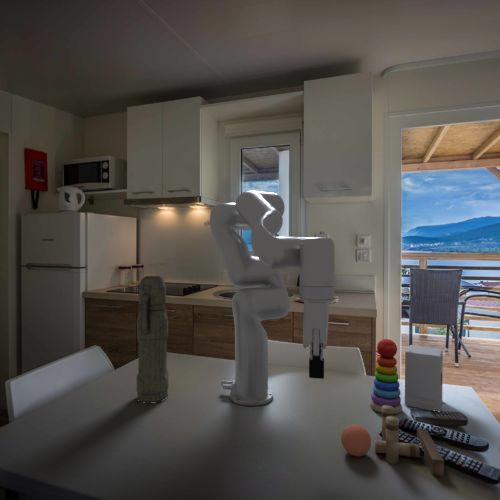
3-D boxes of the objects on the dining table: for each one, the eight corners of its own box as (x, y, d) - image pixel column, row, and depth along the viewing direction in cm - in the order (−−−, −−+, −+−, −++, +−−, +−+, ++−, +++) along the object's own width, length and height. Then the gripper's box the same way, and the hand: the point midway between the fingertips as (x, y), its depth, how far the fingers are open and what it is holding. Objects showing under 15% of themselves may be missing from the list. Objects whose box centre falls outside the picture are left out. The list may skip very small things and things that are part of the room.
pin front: (375, 443, 76) (419, 448, 74) (374, 437, 78) (417, 441, 76) (376, 455, 76) (419, 460, 74) (374, 448, 78) (417, 453, 76)
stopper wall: (432, 474, 69) (432, 459, 69) (416, 441, 81) (416, 428, 81) (443, 476, 69) (443, 460, 69) (426, 442, 81) (426, 429, 81)
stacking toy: (405, 417, 93) (405, 344, 93) (372, 414, 94) (372, 342, 94) (398, 404, 101) (399, 336, 100) (368, 401, 102) (369, 335, 102)
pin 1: (382, 448, 78) (382, 409, 78) (381, 442, 81) (380, 404, 81) (394, 450, 78) (394, 410, 78) (392, 443, 80) (392, 405, 80)
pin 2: (386, 463, 73) (386, 421, 73) (384, 456, 75) (384, 415, 75) (399, 464, 73) (400, 422, 72) (397, 457, 75) (397, 416, 75)
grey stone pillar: (130, 406, 99) (129, 278, 99) (143, 389, 111) (143, 275, 110) (162, 406, 99) (162, 278, 98) (172, 389, 110) (172, 275, 110)
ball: (374, 448, 72) (364, 467, 74) (375, 425, 77) (366, 444, 79) (344, 435, 73) (335, 454, 75) (347, 413, 78) (339, 432, 81)
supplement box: (440, 413, 95) (441, 356, 95) (404, 405, 100) (404, 351, 100) (443, 401, 103) (443, 348, 102) (409, 394, 107) (409, 343, 107)
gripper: (301, 289, 87) (301, 365, 87) (297, 297, 73) (296, 388, 73) (333, 290, 86) (333, 367, 86) (335, 298, 71) (335, 391, 71)
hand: (316, 376), depth 79 cm, fingers closed
